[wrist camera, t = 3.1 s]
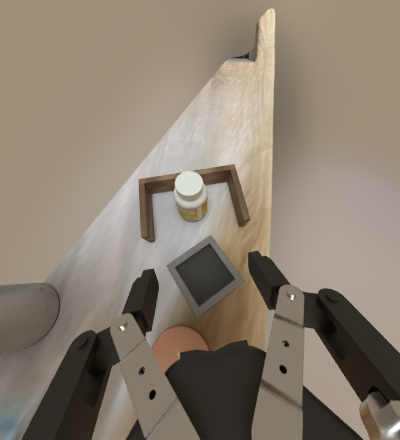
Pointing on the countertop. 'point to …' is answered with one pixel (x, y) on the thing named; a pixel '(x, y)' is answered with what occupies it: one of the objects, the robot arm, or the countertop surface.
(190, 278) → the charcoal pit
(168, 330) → the tan round disc
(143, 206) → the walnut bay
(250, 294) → the countertop surface
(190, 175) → the supplement bottle
